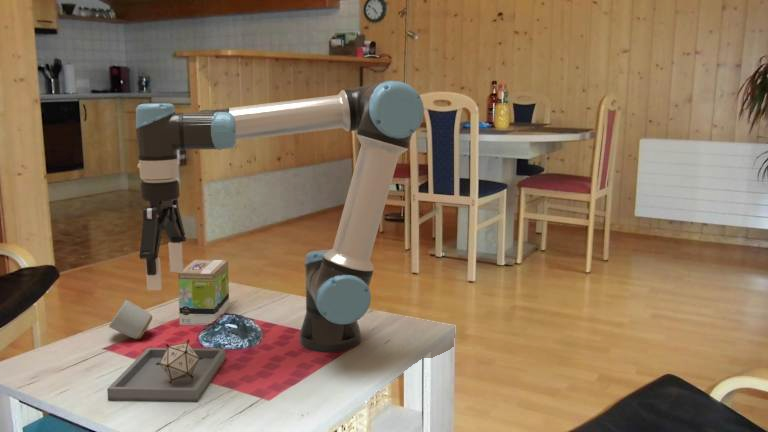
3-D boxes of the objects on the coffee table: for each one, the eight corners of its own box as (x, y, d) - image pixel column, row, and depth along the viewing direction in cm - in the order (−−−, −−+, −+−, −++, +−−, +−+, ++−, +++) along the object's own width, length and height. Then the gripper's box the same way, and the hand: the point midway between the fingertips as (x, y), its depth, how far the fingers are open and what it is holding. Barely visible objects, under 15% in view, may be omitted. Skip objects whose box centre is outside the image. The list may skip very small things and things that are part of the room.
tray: (225, 359, 159) (225, 349, 159) (197, 401, 138) (196, 390, 137) (148, 358, 160) (147, 347, 159) (108, 400, 138) (107, 388, 138)
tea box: (217, 327, 181) (214, 272, 178) (178, 327, 181) (175, 272, 178) (230, 309, 195) (228, 258, 193) (195, 309, 196) (192, 258, 193)
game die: (150, 388, 144) (164, 367, 138) (152, 351, 149) (165, 329, 143) (193, 391, 148) (208, 370, 142) (193, 355, 153) (207, 334, 147)
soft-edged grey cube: (136, 347, 171) (148, 327, 168) (105, 332, 169) (116, 312, 165) (150, 319, 180) (161, 300, 177) (120, 305, 178) (132, 285, 174)
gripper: (162, 172, 153) (168, 265, 157) (116, 188, 129) (124, 298, 133) (196, 172, 153) (201, 265, 157) (155, 188, 128) (163, 298, 132)
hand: (166, 280), depth 145 cm, fingers open, 13 cm apart
